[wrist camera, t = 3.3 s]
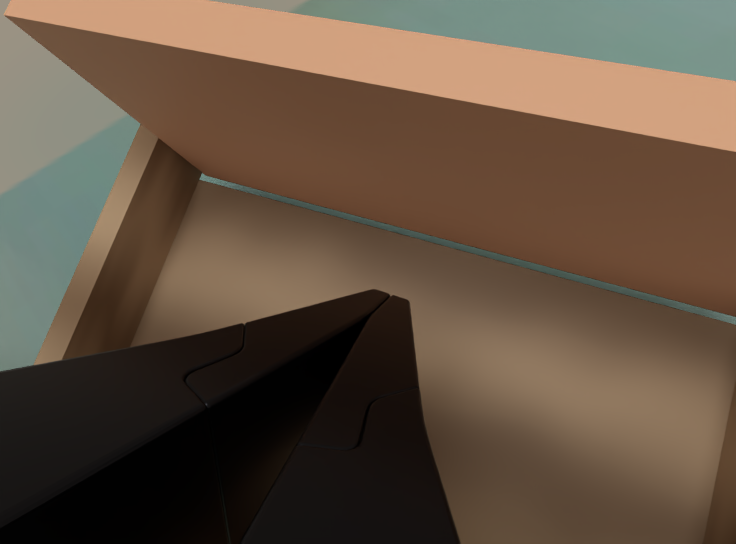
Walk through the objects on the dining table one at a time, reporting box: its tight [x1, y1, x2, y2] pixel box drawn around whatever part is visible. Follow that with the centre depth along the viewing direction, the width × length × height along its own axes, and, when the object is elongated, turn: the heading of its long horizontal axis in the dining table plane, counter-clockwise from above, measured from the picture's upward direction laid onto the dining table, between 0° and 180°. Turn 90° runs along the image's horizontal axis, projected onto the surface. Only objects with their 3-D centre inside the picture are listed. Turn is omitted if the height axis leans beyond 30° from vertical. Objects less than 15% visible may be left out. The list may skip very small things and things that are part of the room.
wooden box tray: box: [34, 124, 736, 544], centre depth 15 cm, size 16×23×9 cm
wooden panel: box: [4, 0, 736, 317], centre depth 13 cm, size 1×20×9 cm, turn 71°
